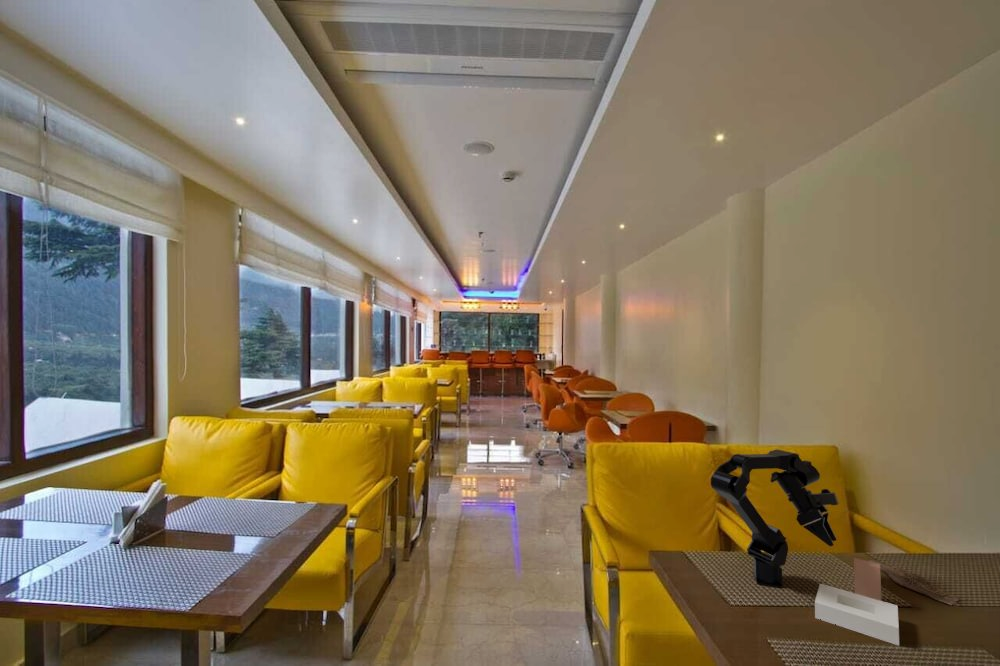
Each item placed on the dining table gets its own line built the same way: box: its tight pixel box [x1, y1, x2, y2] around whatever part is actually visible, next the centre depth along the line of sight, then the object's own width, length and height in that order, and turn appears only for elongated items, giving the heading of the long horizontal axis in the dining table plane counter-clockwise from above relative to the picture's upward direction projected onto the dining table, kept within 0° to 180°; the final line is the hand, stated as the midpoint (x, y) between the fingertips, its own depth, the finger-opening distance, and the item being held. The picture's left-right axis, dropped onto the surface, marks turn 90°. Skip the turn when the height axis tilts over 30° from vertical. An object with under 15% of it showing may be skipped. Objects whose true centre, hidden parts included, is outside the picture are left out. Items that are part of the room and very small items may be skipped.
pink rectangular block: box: [853, 557, 882, 601], centre depth 121 cm, size 6×3×10 cm, turn 49°
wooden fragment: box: [868, 559, 960, 607], centre depth 130 cm, size 26×11×1 cm, turn 178°
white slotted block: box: [814, 583, 900, 646], centre depth 112 cm, size 16×12×4 cm
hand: (833, 543), depth 126 cm, fingers open, 9 cm apart
